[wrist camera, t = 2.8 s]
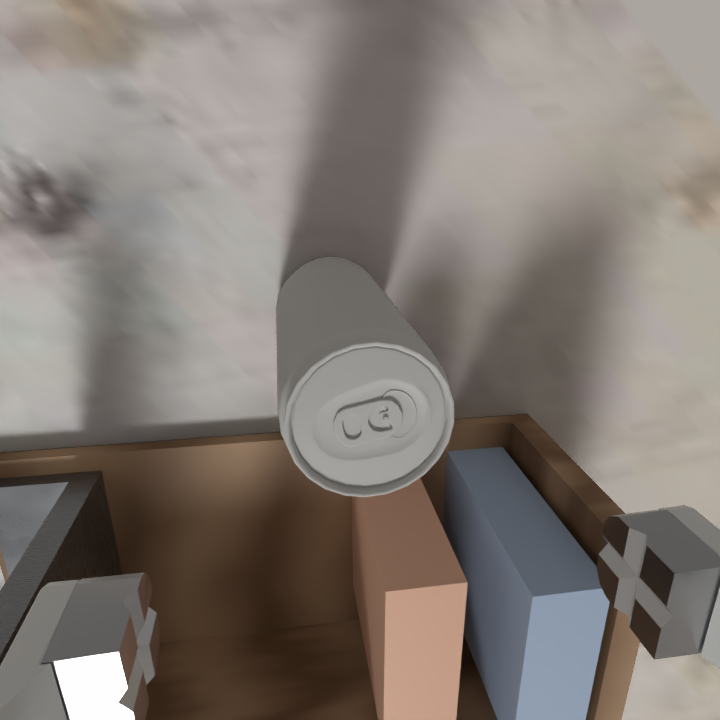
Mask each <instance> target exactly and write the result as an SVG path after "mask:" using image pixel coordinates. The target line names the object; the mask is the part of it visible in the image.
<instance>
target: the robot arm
mask: <svg viewBox="0 0 720 720" xmlns="http://www.w3.org/2000/svg"><path fill="white" fill-rule="evenodd" d="M602 535H603V536H604V538H605V539H606V541H607V542H608V544H607V545H606V546H605V547H604V549H603V550H602V551H601V552H600V553H599V555H598V564H597V573H598V577H599V582H600V586H601V588H602V590H603V592H604V594H605V596H606V597H607V599H608V600H609V601H610V603H611V604H612V605H613V607H614V608H616V609H618V610H620V611H621V612H623V613H625V614H627V615H629V616H630V623H629V628H630V629H631V630H632V631H633V633H634V634H635V635H636V637H637V638H638V639H639V640H640V642H641V643H642V644H643V645H644V647H645V648H646V649H647V651H648V652H649V653H650V654H651V656H652V657H653V658H654V659H660V658H668V657H676V656H683V655H691V654H698V653H701V656H702V657H703V658H705V659H706V660H708V661H709V662H711V663H712V664H714V665H715V666H717V667H718V668H720V530H719V529H718V528H717V527H716V526H714V525H713V524H712V523H711V522H710V521H708V520H707V519H706V518H705V517H703V516H702V515H701V514H700V513H698V512H697V511H696V510H695V509H693V508H691V507H688V506H685V505H683V506H676V507H669V508H662V509H659V510H652V511H644V512H636V513H629V514H621V515H613V516H609V517H608V518H607V520H606V521H605V523H604V527H603V532H602ZM152 592H153V591H152V587H151V582H150V578H149V575H148V574H146V573H135V574H125V575H114V576H104V577H94V578H84V579H81V580H69V581H60V582H50V583H48V584H46V585H45V586H44V587H43V588H42V589H41V590H40V592H39V594H38V595H37V597H36V599H35V601H34V603H33V605H32V607H31V609H30V611H29V613H28V614H27V616H26V618H25V620H24V622H23V624H22V626H21V628H20V630H19V632H18V633H17V635H16V637H15V639H14V641H13V643H12V645H11V647H10V649H9V650H8V652H7V654H6V656H5V658H4V660H3V662H2V664H1V666H0V720H146V715H147V711H148V706H149V697H148V692H147V687H146V685H147V684H148V683H149V682H150V681H151V679H152V678H153V677H154V676H155V673H156V668H157V663H158V657H159V643H160V636H159V623H158V617H157V613H156V612H155V611H154V610H153V609H151V608H150V607H149V604H150V600H151V596H152Z"/></svg>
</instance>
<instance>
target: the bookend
mask: <svg viewBox="0 0 720 720" xmlns="http://www.w3.org/2000/svg"><path fill="white" fill-rule="evenodd" d="M0 549H1V552H2V555H3V559H4V562H5V566H6V569H7V572H8V576H9V578H8V579H7V581H6V583H5V584H4V586H3V587H2V589H1V591H0V666H1V664H2V662H3V660H4V658H5V656H6V654H7V652H8V650H9V649H10V647H11V645H12V643H13V641H14V639H15V637H16V635H17V633H18V632H19V630H20V628H21V626H22V624H23V622H24V620H25V618H26V616H27V614H28V613H29V611H30V609H31V607H32V605H33V603H34V601H35V599H36V597H37V595H38V594H39V592H40V590H41V589H42V588H43V587H44V586H45V585H46V584H48V583H50V582H60V581H69V580H81V579H84V578H94V577H104V576H114V575H122V570H121V565H120V560H119V555H118V550H117V545H116V540H115V535H114V530H113V525H112V520H111V515H110V510H109V505H108V500H107V495H106V490H105V485H104V480H103V475H102V470H100V471H87V472H75V473H62V474H50V475H37V476H24V477H12V478H0Z"/></svg>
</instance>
